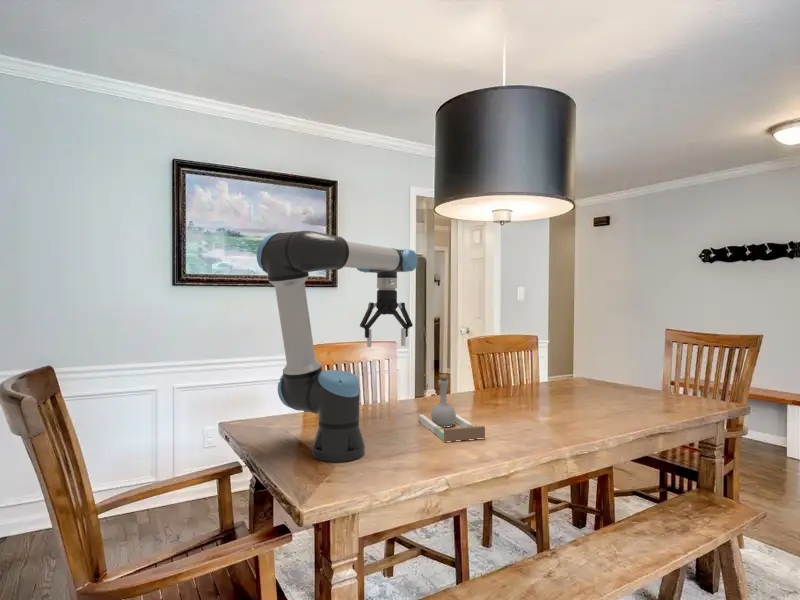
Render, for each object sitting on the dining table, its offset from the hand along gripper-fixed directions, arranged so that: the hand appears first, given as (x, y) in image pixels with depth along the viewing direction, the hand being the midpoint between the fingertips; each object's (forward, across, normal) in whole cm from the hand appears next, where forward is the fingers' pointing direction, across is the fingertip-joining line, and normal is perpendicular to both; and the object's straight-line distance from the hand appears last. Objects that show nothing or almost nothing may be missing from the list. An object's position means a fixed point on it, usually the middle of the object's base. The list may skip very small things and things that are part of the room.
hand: (386, 346), depth 180 cm
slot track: (+27, +15, -22) cm, 38 cm away
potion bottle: (+27, +16, -16) cm, 35 cm away
